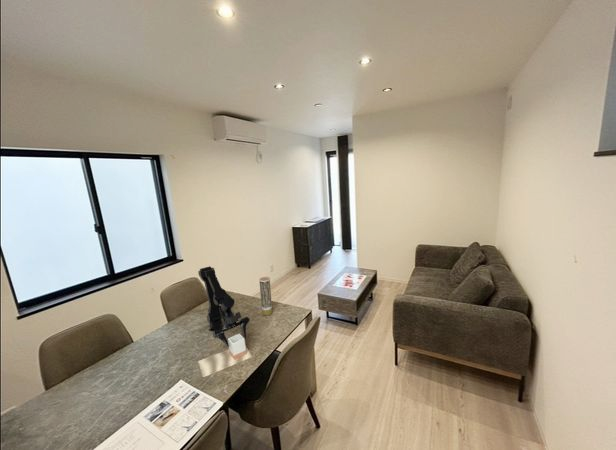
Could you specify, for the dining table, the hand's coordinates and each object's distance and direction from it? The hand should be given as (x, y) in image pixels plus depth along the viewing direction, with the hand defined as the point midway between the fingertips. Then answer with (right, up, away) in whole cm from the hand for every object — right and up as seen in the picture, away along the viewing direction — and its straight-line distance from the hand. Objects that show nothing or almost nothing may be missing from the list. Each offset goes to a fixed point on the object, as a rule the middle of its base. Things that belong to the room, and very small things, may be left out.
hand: (237, 342), depth 131 cm
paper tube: (+9, 0, +43) cm, 44 cm away
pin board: (-6, -9, -1) cm, 11 cm away
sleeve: (0, -7, +2) cm, 7 cm away
